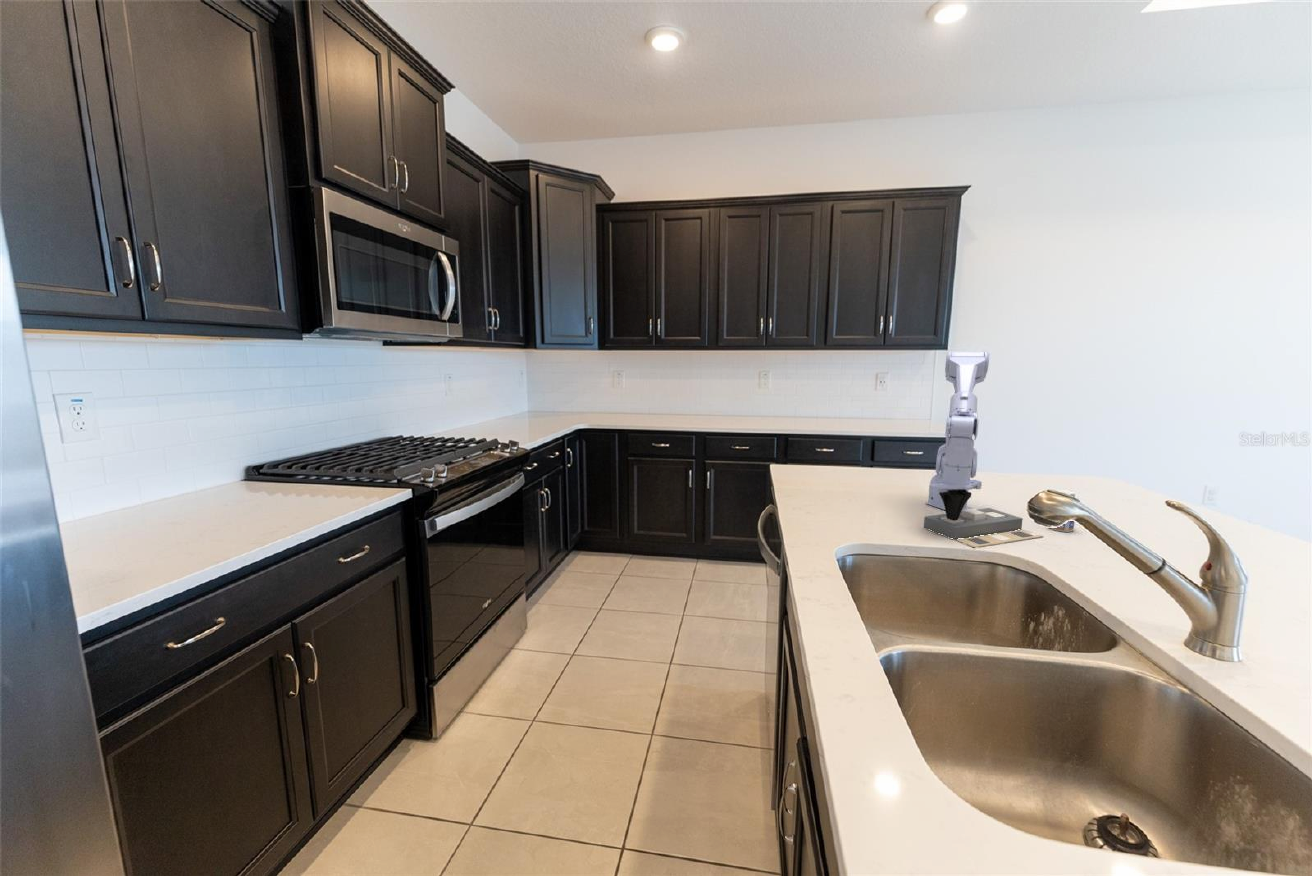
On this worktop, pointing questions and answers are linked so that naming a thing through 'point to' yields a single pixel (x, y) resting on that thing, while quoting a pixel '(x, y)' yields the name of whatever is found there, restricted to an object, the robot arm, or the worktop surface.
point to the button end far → (995, 514)
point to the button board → (973, 525)
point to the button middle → (973, 514)
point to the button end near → (952, 520)
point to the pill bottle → (1070, 524)
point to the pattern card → (998, 538)
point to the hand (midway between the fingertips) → (952, 519)
